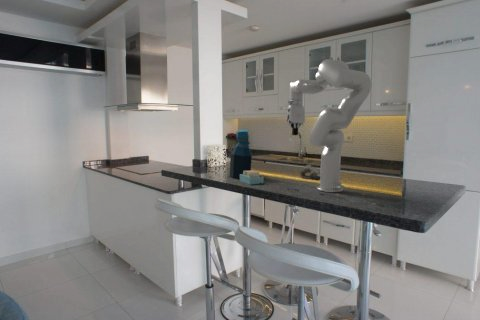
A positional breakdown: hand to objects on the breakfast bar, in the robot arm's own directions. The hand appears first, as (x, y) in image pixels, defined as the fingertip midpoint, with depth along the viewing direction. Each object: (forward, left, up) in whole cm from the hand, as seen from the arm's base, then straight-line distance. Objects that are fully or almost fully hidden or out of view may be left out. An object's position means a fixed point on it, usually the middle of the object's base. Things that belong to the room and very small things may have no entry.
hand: (295, 135), depth 178 cm
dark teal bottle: (+27, +22, -27) cm, 44 cm away
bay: (+6, +25, -27) cm, 37 cm away
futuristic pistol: (0, -14, -27) cm, 31 cm away
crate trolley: (+6, +26, -27) cm, 38 cm away
